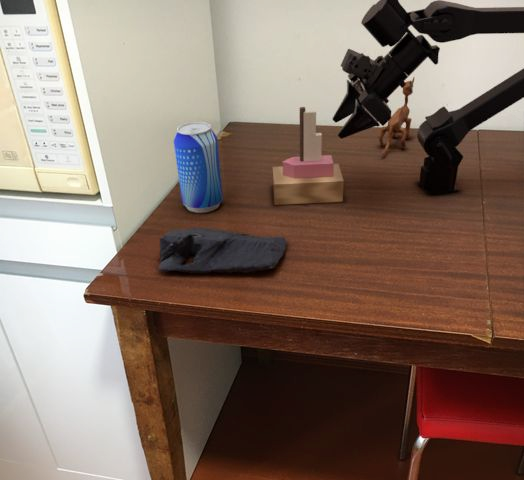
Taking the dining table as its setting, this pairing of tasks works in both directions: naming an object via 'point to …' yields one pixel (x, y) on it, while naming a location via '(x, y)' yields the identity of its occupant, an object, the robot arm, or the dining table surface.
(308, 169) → the toy boat
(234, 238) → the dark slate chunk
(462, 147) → the dining table surface
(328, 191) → the wood block
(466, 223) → the dining table surface
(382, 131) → the brown animal figurine
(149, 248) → the dining table surface
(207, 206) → the beer can
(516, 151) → the dining table surface
